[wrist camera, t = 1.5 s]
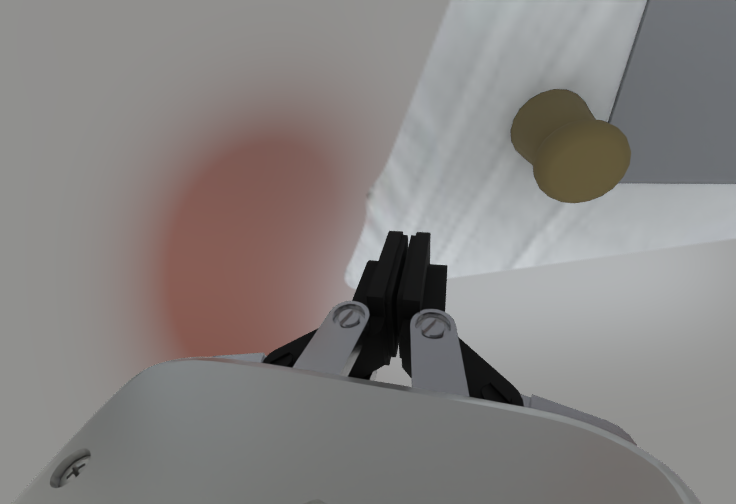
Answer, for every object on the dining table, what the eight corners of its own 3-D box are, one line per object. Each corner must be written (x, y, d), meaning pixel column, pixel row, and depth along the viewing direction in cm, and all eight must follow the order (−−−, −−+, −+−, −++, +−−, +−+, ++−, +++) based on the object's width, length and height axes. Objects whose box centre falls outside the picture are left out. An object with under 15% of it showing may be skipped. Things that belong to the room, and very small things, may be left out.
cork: (579, 158, 28) (631, 216, 19) (507, 163, 30) (525, 218, 21) (596, 84, 25) (668, 113, 16) (514, 94, 26) (538, 125, 18)
